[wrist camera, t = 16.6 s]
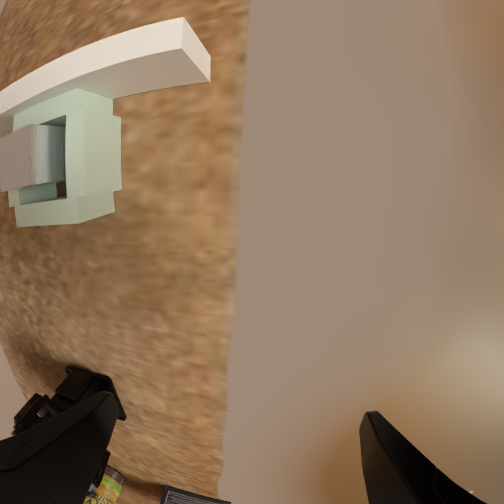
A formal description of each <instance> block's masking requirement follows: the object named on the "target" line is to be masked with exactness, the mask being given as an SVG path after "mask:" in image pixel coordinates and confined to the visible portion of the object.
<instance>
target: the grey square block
mask: <svg viewBox="0 0 504 504" xmlns="http://www.w3.org/2000/svg"><path fill="white" fill-rule="evenodd" d="M65 135H66V127H58V126H48V125H37V124H29V125H27V126H25V127H22V128H20V129H18V130H16V131H14V132H12V133H10V134H8V135H6V136H4V137H2V138H0V189H1V192H5V191H11V190H16V189H22V188H28V187H34V186H40V185H47V184H54V183H61V182H66V166H65Z"/></svg>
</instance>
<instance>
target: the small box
mask: <svg viewBox="0 0 504 504" xmlns="http://www.w3.org/2000/svg"><path fill="white" fill-rule="evenodd" d="M160 504H231V502H228V501H223V500H218V499H213V498H209V497H204V496H201V495H197V494H193V493H189V492H186V491H182V490H179V489H176V488H173V487H169V486H165V488H164V493H163V496H162V499H161V502H160Z"/></svg>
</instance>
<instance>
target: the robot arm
mask: <svg viewBox="0 0 504 504" xmlns="http://www.w3.org/2000/svg"><path fill="white" fill-rule="evenodd" d="M65 372H66V374H67V377H66V379H65V380H64V381H63V382H62V383H61V384H60V385H59V386H58V387H57V389H56V390H55V393H56V394H55V395H54V396H53V397H52V398H51V399H49V397H48V396H47V395H46V394H45V395H44V396H43V397H42V396H41V395H39V394H37V393H35V394H34V395H33V396H32V398H31V399H30V400H29V401H28V402H27V403H26V404H25V406H23V408H22V409H21V410H20V411H19V412H18V413H17V414H16V416H15V417H14V423H15V425H14V427H13V428H14V430H13V431H12V433H11V434H12V435H13V436H12V437H9V438H7V439H3V440H1V441H0V504H83V503H84V501H85V498H86V496H89V495H91V494H93V493H94V492H95V491H96V490H97V488H98V487H99V485H100V483H101V481H102V479H103V476H104V472H105V469H106V466H107V463H108V460H109V456H110V452H109V451H107V450H106V449H107V447H108V444H109V442H110V439H111V435H112V432H113V429H114V426H115V423H116V420H117V419H118V420H122V421H125V419H126V418H127V417H126V415H125V412H124V410H123V408H122V405H121V403H120V400H119V398H118V396H117V393H116V390H115V388H114V385H113V383H112V380H111V379H110V378H108V377H105V376H101V375H97V374H93V373H90V372H86V371H83V370H79V369H76V368H72V367H69V366H67V367H66V368H65ZM37 413H38V414H39V415H40V416H41V417H39V416H38V415H37ZM359 430H360V431H359V433H360V445H361V457H362V469H363V475H364V479H365V484H366V490H367V496H368V501H369V504H487V503H485V502H483V501H481V500H480V499H478V498H477V497H475V496H474V495H472V494H470V493H469V492H467V491H466V490H464V489H463V488H462V487H460V486H459V485H457V484H456V483H455V482H453V481H452V480H451V479H449V478H448V477H447V476H446V475H445V474H444V473H443V472H441V471H440V470H439V469H438V468H437V469H436V466H435V465H434V464H433V463H432V462H430V461H429V460H428V459H427V458H426V457H425V456H424V455H423V454H422V453H421V452H420V451H419V450H418V449H417V448H416V447H415V446H413V445H412V444H411V443H410V442H409V441H408V440H407V439H406V438H405V437H404V436H403V435H402V434H401V433H400V432H399V431H398V430H397V429H395V428H394V427H393V426H392V425H391V424H390V423H389V422H388V421H387V420H386V419H385V418H384V417H383V416H382V415H381V414H380V413H379V412H378V411H369V412H366V413H365V414H364V417H363V419H362V422H361V425H360V429H359Z"/></svg>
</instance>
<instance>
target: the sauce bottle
mask: <svg viewBox="0 0 504 504" xmlns="http://www.w3.org/2000/svg"><path fill="white" fill-rule="evenodd" d="M124 482H125V480H124V479H123V477H122V476H121V475H120V474H119V473H118V472H117V471H115V470H114V469H112V468H111V467H109V466H106V469H105V472H104V476H103V479H102V481H101V483H100V485H99V487H98V488H97V490H96V491H95V492H94V493H93V494H91V495H89V496H86V498H85V501H84V503H83V504H115V502H116V500H117V498H118V496H119V494H120V492H121V490H122V486H123V484H124Z"/></svg>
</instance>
